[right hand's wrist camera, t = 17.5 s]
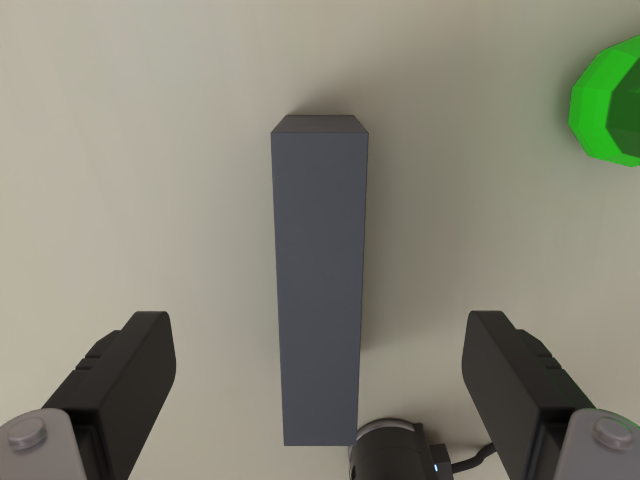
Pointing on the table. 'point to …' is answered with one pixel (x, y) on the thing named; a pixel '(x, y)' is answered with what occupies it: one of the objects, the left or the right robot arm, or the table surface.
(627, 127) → the plastic bottle
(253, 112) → the table surface
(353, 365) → the box
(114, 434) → the right robot arm
